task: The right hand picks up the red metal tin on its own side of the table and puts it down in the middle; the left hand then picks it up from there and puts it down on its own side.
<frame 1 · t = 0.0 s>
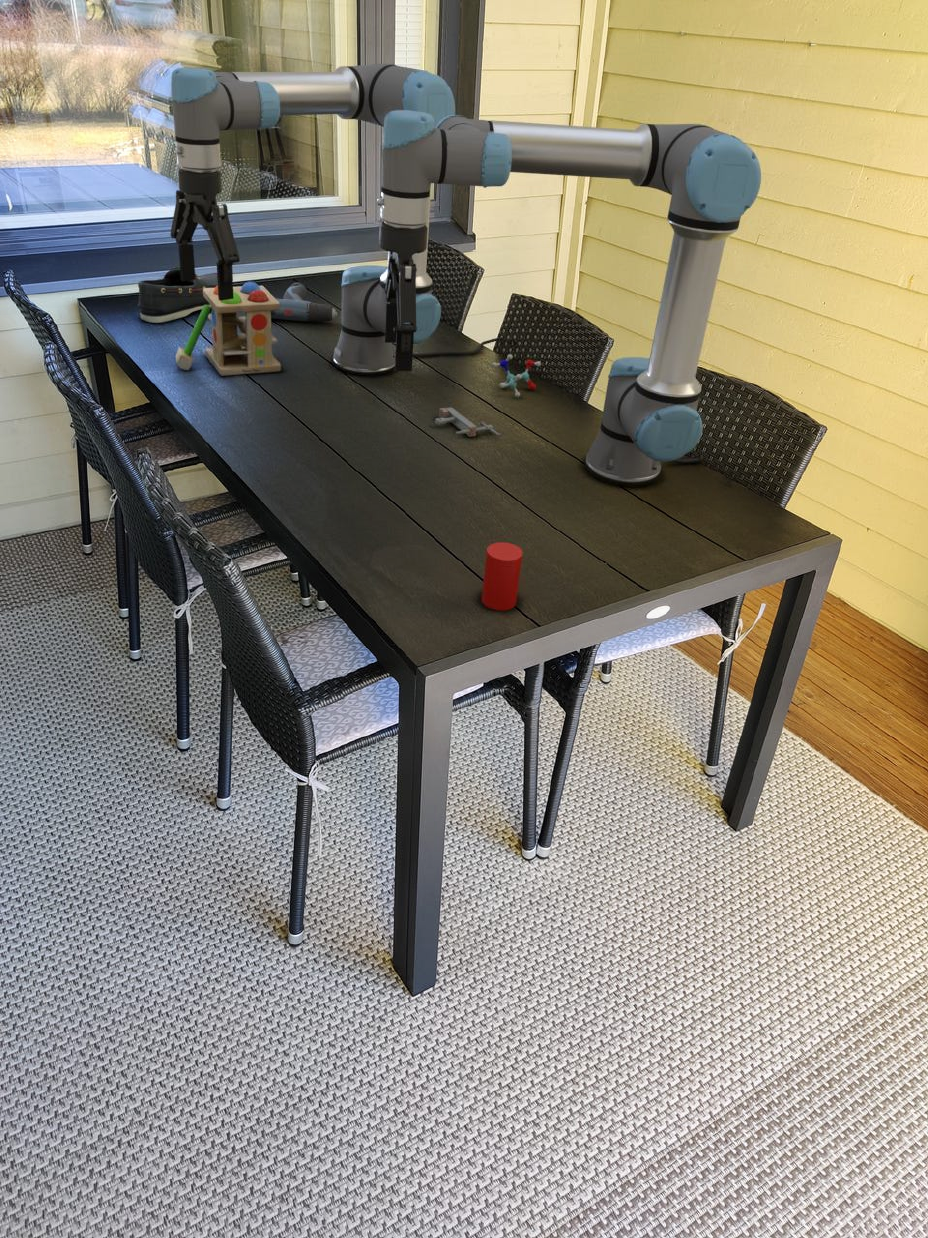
left hand: (206, 289, 186), 28 cm above the table, tool pointing down, fingers open, 13 cm apart
right hand: (397, 355, 164), 28 cm above the table, tool pointing down, fingers open, 13 cm apart
boat shoe: (186, 307, 263), on the table
tin: (498, 600, 156), on the table
molecular model: (512, 390, 232), on the table
power drill: (305, 313, 267), on the table
pounding bench toy: (225, 365, 230), on the table
clamp: (463, 430, 211), on the table
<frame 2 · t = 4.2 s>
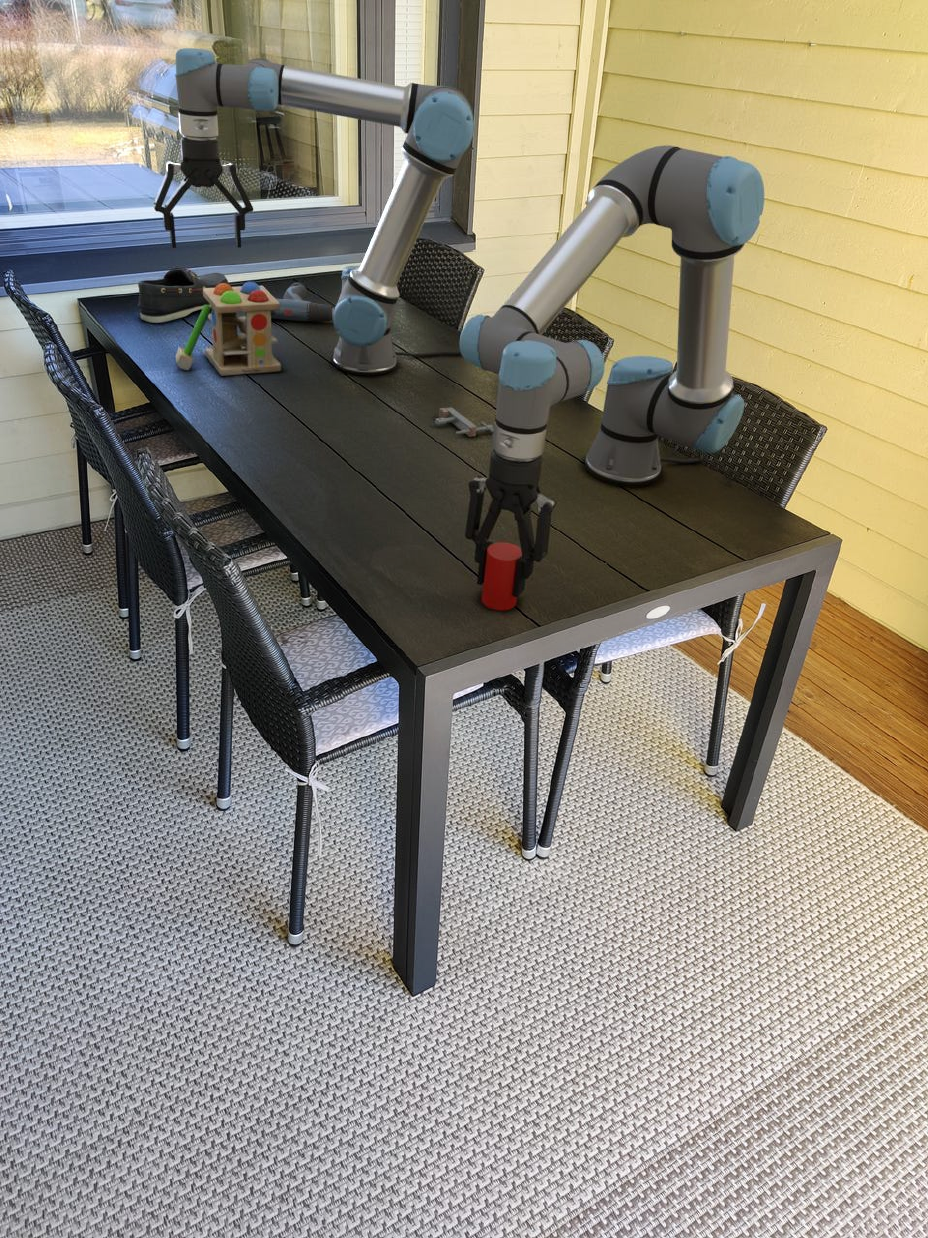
left hand: (206, 246, 210), 28 cm above the table, tool pointing down, fingers open, 13 cm apart
right hand: (500, 586, 155), 3 cm above the table, tool pointing down, fingers closed on tin, 6 cm apart
tin: (498, 600, 156), on the table, touching right hand
everything else where it was.
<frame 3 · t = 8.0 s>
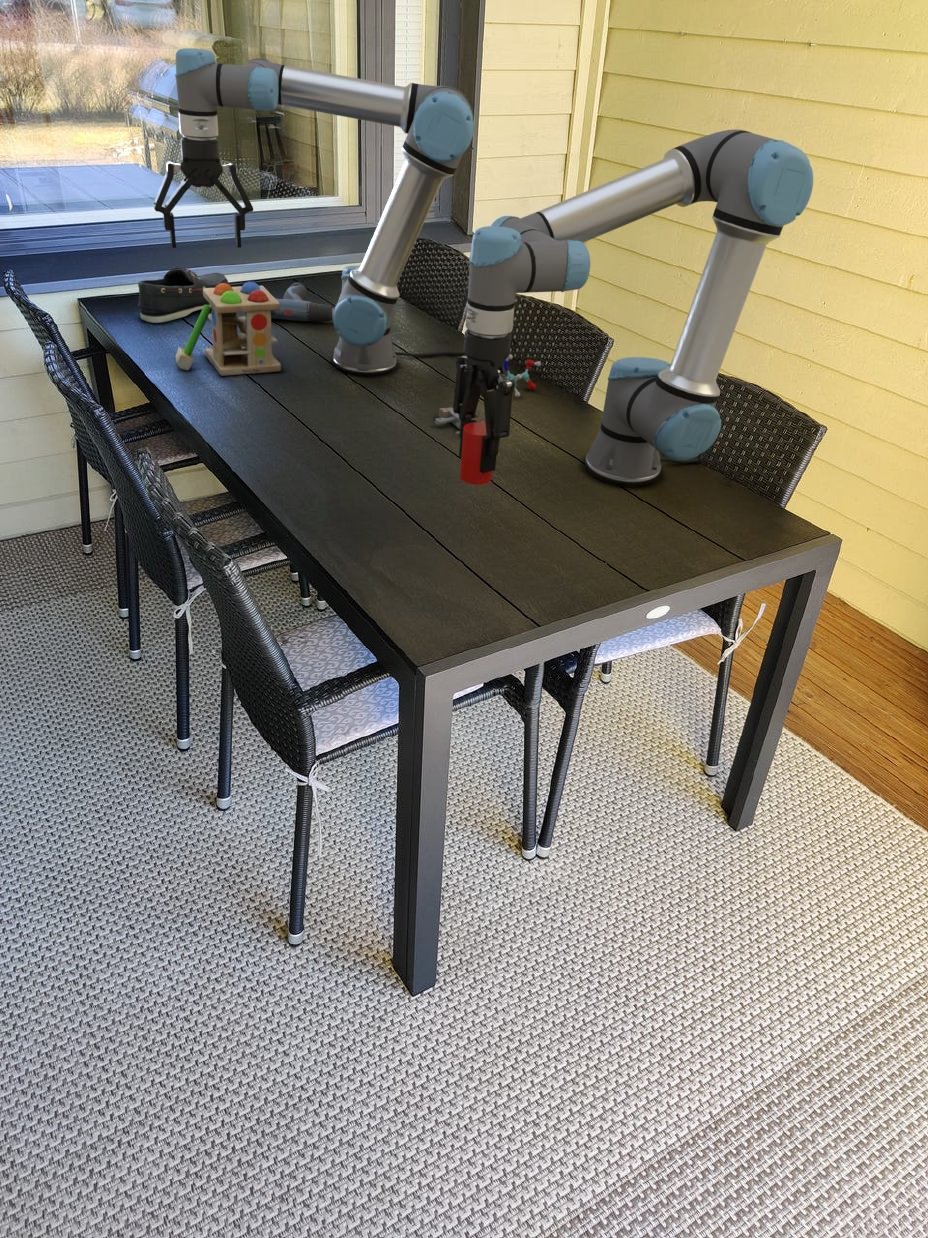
left hand: (206, 246, 210), 28 cm above the table, tool pointing down, fingers open, 13 cm apart
right hand: (476, 463, 169), 12 cm above the table, tool pointing down, fingers closed on tin, 5 cm apart
tin: (475, 477, 171), point 9 cm above the table, touching right hand
everything else where it was.
when the right hand's fingers open (4 cm above the table, at t = 11.7 s): tin drops 1 cm, on the table.
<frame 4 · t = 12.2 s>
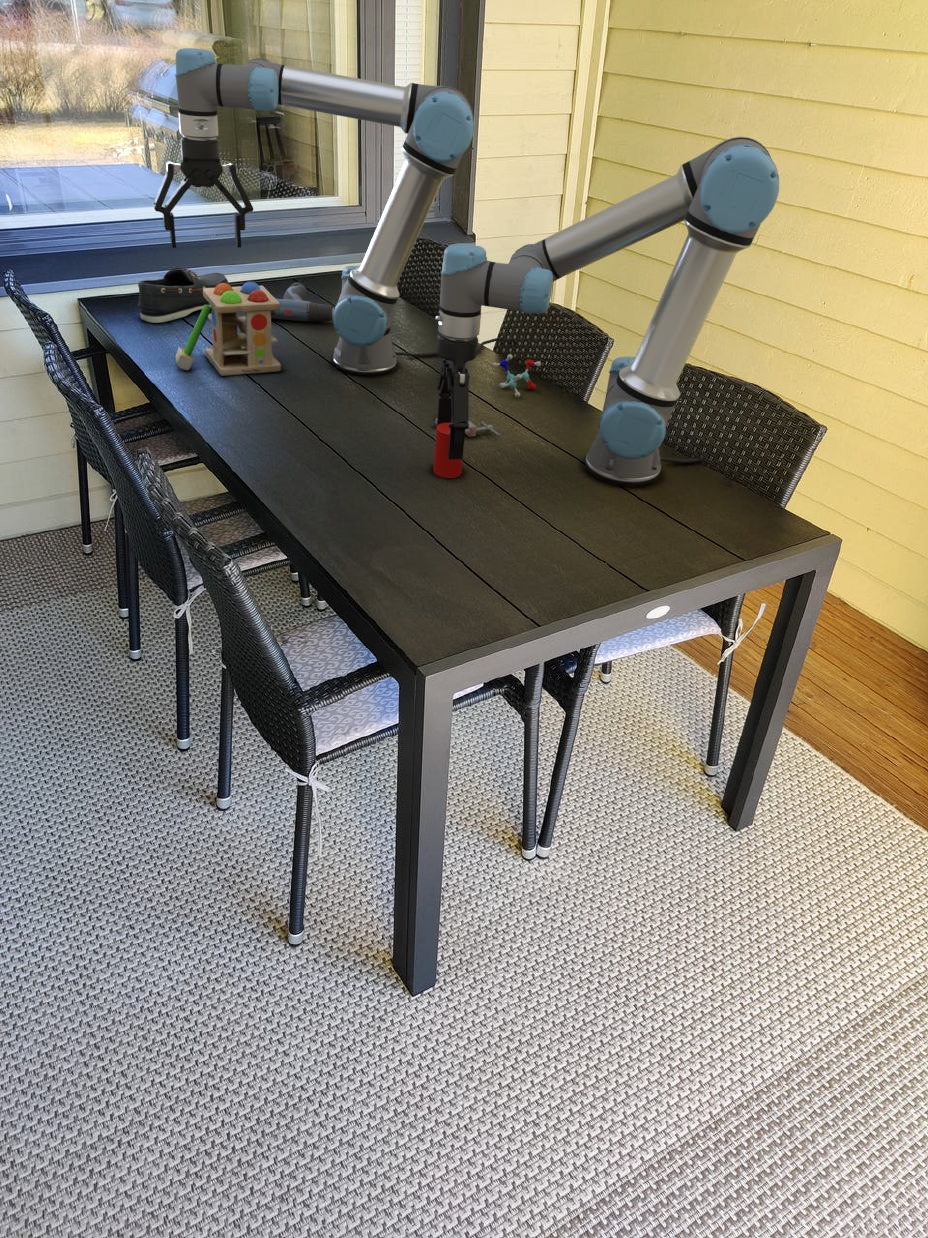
left hand: (206, 246, 210), 28 cm above the table, tool pointing down, fingers open, 13 cm apart
right hand: (449, 443, 190), 6 cm above the table, tool pointing down, fingers open, 12 cm apart
tin: (447, 471, 193), on the table
everything else where it was.
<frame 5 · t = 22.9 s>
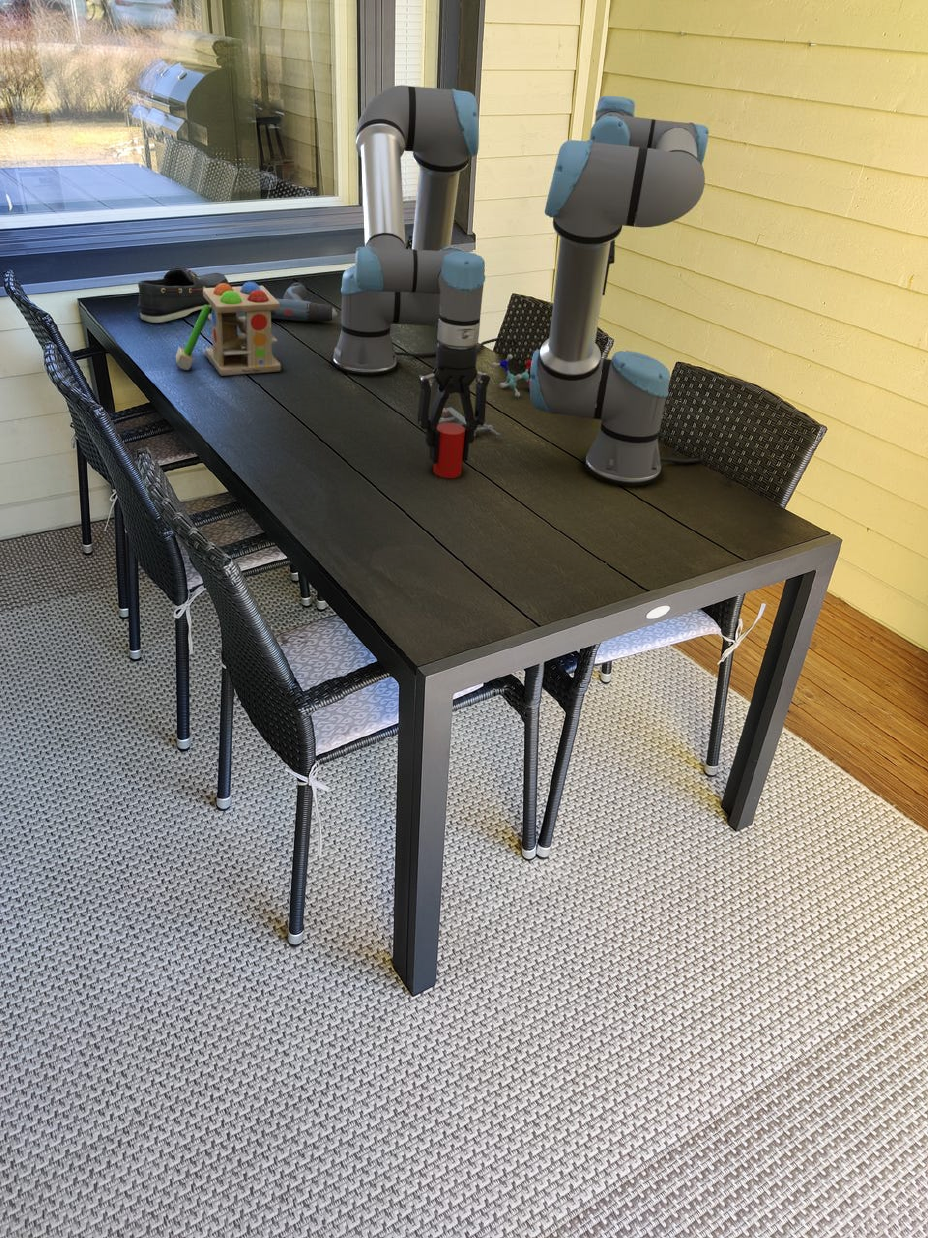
left hand: (448, 458, 192), 3 cm above the table, tool pointing down, fingers closed on tin, 5 cm apart
right hand: (588, 285, 214), 27 cm above the table, tool pointing down, fingers open, 13 cm apart
tin: (447, 471, 193), on the table, touching left hand
everything else where it was.
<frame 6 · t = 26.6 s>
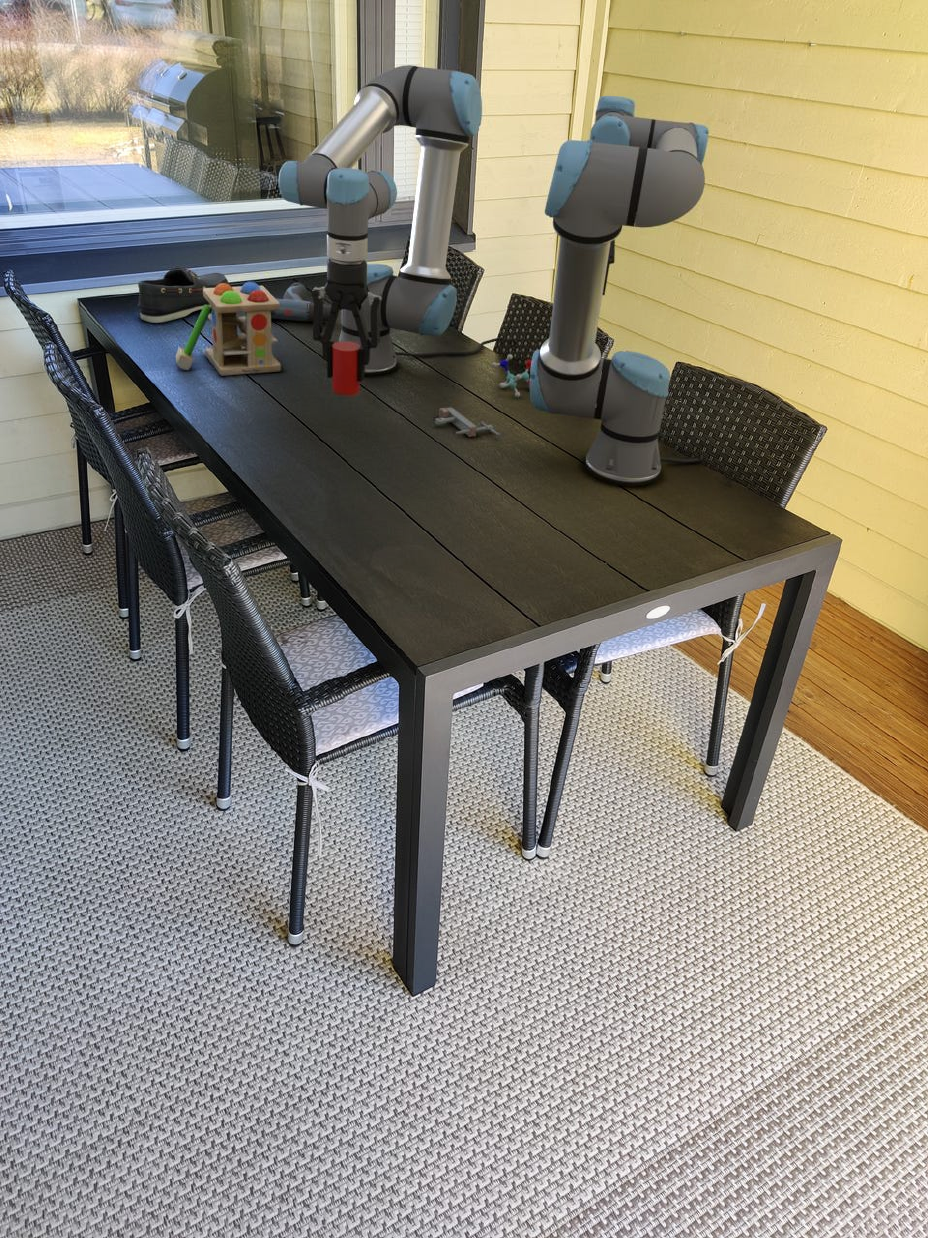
left hand: (345, 377, 198), 12 cm above the table, tool pointing down, fingers closed on tin, 5 cm apart
right hand: (588, 285, 214), 27 cm above the table, tool pointing down, fingers open, 13 cm apart
tin: (345, 390, 199), point 9 cm above the table, touching left hand
everything else where it was.
when the left hand's fingers open (4 cm above the table, at t = 30.3 s): tin drops 1 cm, on the table.
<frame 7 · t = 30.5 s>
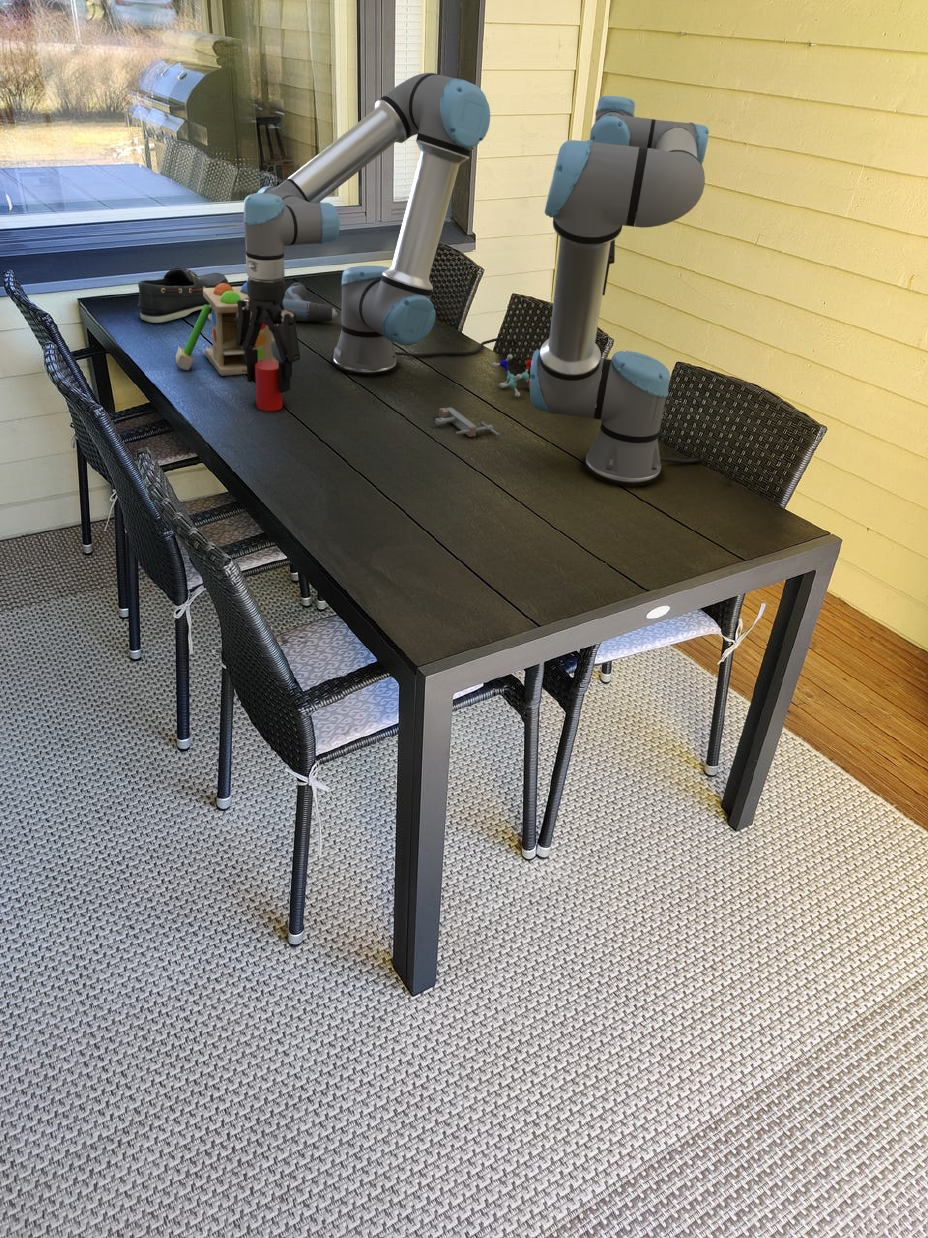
left hand: (268, 385, 210), 5 cm above the table, tool pointing down, fingers open, 8 cm apart
right hand: (588, 285, 214), 27 cm above the table, tool pointing down, fingers open, 13 cm apart
tin: (269, 406, 213), on the table
everything else where it was.
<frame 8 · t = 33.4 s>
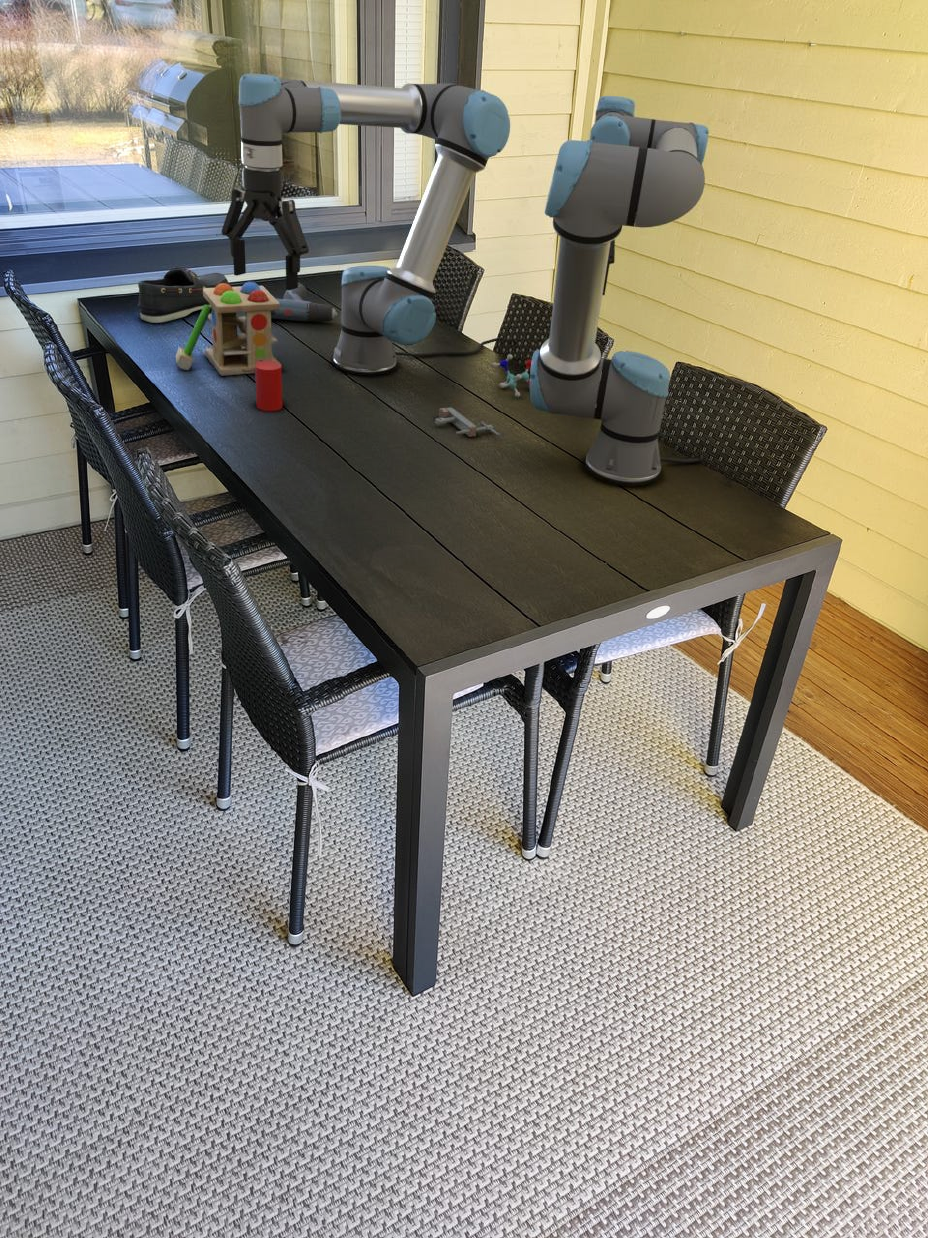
left hand: (265, 281, 198), 27 cm above the table, tool pointing down, fingers open, 13 cm apart
right hand: (588, 285, 214), 27 cm above the table, tool pointing down, fingers open, 13 cm apart
nothing on the table moved.
at the end: tin inside the target area (0.0 cm from its centre), on the table; tin tilted 0°; the two hands never held the tin at the same time; the left hand is holding nothing; the right hand is holding nothing; tin at rest at the end (0.0 cm/s) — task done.
